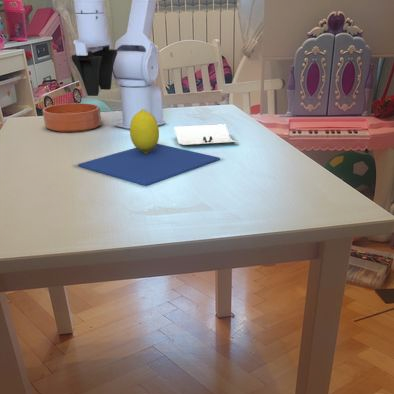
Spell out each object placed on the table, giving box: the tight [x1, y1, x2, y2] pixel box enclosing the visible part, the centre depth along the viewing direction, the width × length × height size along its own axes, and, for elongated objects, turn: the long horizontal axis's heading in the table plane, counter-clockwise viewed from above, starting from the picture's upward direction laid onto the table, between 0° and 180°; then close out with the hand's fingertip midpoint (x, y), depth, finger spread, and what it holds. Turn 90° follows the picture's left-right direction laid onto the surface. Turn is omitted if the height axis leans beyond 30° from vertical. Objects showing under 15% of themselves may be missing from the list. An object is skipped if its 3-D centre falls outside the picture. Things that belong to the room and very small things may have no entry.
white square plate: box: [173, 123, 240, 146], centre depth 106 cm, size 12×12×2 cm
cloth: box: [77, 143, 221, 187], centre depth 93 cm, size 20×18×1 cm
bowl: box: [42, 102, 102, 133], centre depth 117 cm, size 13×13×4 cm
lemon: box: [129, 110, 160, 154], centre depth 95 cm, size 6×6×8 cm
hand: (99, 92), depth 102 cm, fingers open, 7 cm apart
